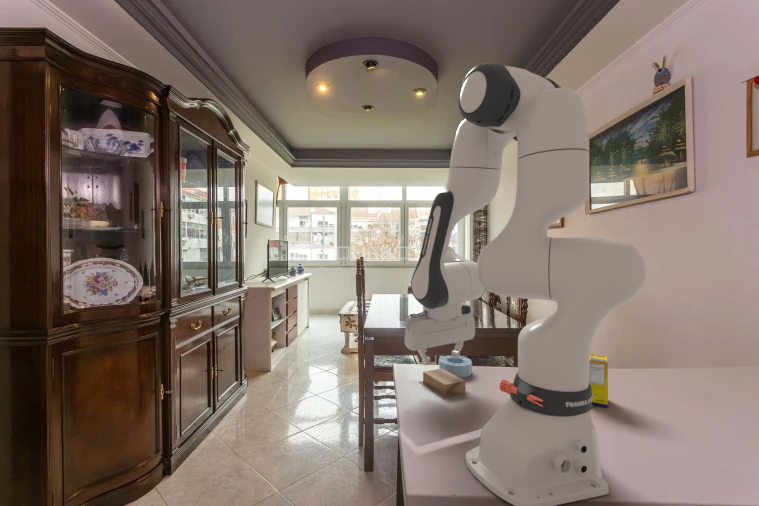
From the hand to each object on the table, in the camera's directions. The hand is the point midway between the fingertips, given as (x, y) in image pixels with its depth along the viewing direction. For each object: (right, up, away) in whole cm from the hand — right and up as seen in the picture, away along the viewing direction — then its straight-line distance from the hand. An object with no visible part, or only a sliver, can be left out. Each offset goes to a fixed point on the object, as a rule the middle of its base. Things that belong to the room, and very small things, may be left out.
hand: (441, 360), depth 89 cm
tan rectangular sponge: (0, -7, -1) cm, 7 cm away
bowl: (+6, -8, +11) cm, 15 cm away
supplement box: (+36, -8, -6) cm, 37 cm away
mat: (0, -8, -1) cm, 8 cm away
